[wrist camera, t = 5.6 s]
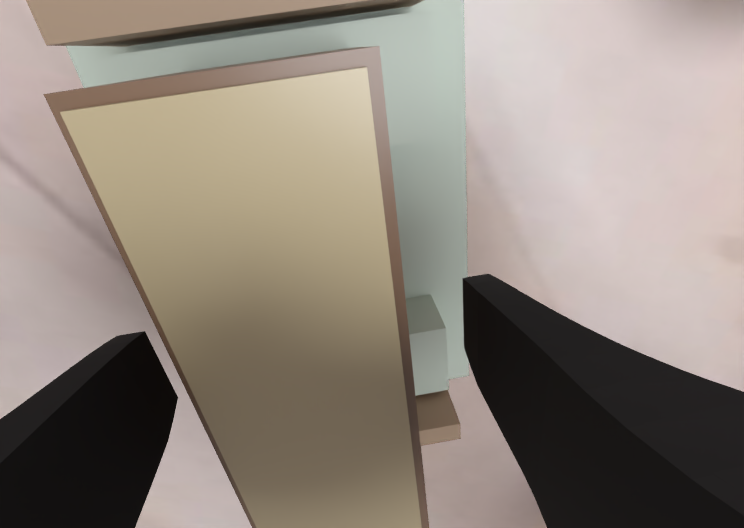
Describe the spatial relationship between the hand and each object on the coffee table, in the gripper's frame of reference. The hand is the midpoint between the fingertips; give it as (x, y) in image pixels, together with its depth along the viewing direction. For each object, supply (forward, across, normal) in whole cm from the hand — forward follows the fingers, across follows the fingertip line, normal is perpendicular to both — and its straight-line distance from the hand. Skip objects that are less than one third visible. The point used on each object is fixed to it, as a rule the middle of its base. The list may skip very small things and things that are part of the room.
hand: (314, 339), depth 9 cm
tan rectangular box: (+3, 0, 0) cm, 4 cm away
